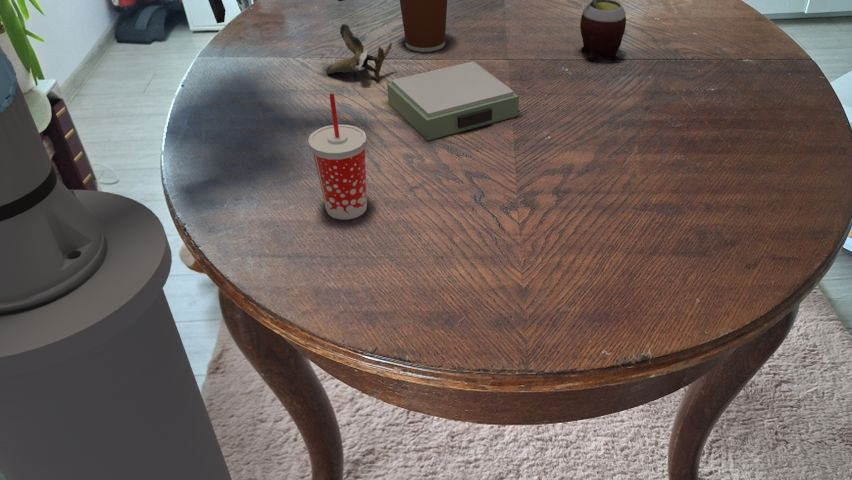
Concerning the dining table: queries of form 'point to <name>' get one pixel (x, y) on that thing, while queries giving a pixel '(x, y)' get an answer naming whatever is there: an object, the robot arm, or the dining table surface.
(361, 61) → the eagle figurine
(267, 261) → the dining table surface
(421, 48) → the coffee cup
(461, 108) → the scale
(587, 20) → the mate gourd
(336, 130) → the beverage cup
